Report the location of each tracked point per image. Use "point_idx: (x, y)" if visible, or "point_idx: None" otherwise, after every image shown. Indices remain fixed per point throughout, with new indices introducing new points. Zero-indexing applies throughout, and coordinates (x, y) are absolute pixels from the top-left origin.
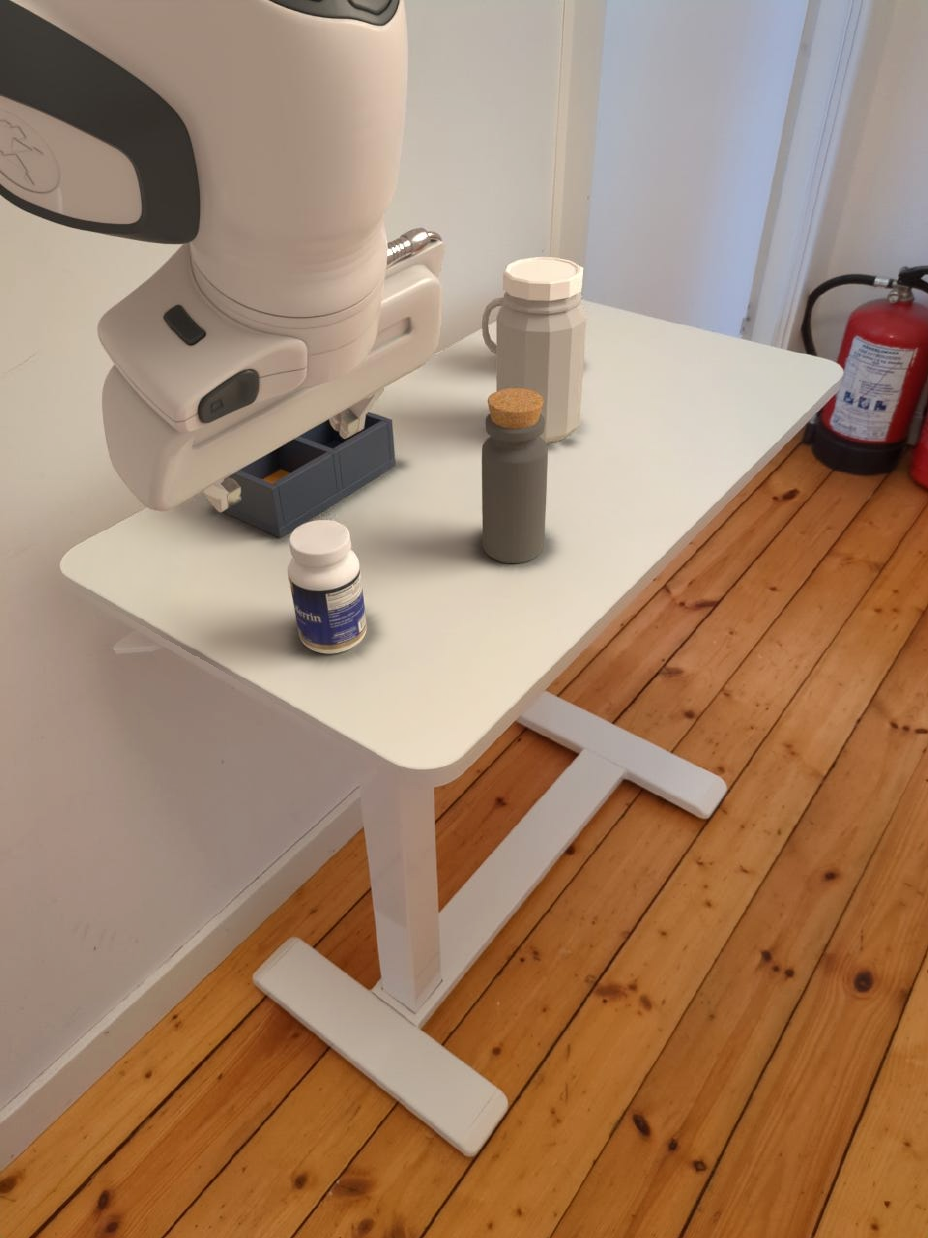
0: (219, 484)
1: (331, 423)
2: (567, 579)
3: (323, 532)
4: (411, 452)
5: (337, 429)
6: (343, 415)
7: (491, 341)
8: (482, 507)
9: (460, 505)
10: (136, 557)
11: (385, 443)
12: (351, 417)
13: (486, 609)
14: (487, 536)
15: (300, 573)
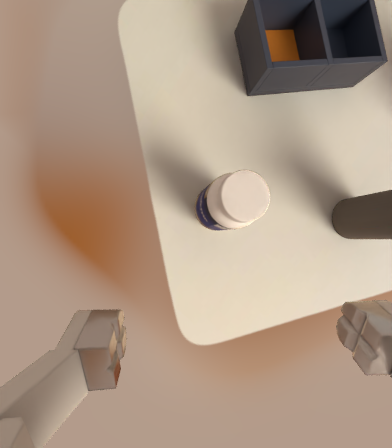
0: (70, 395)
1: (348, 305)
2: (350, 268)
3: (252, 193)
4: (369, 82)
5: (344, 315)
6: (378, 358)
7: None
8: (362, 202)
9: (353, 158)
10: (161, 34)
11: (364, 73)
12: (383, 368)
13: (297, 256)
14: (343, 213)
15: (214, 202)
